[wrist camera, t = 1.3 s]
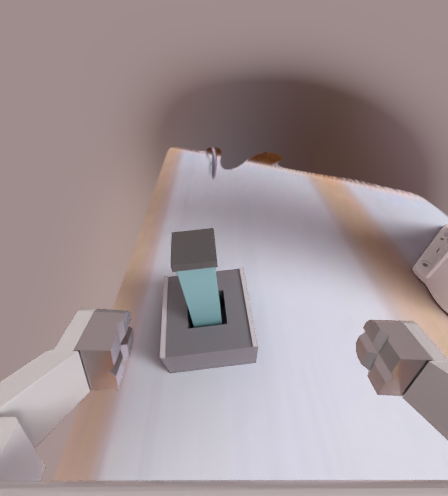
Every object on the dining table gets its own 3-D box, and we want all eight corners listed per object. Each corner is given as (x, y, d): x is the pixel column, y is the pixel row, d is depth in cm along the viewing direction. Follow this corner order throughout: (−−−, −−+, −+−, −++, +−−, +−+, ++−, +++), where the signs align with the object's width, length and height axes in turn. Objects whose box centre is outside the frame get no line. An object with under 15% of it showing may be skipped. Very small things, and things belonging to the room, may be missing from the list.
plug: (194, 312, 42) (171, 232, 28) (222, 309, 42) (213, 228, 28) (195, 340, 39) (170, 265, 25) (225, 336, 39) (216, 260, 26)
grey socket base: (172, 297, 45) (164, 276, 40) (243, 289, 45) (243, 267, 41) (170, 373, 37) (159, 357, 32) (255, 362, 38) (257, 345, 33)
